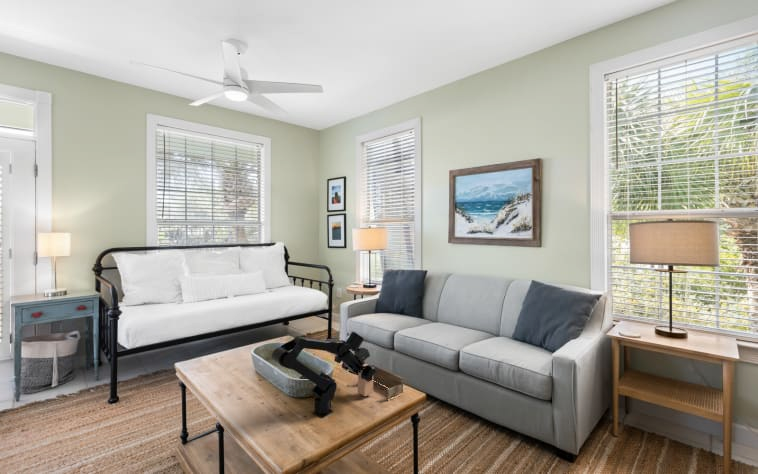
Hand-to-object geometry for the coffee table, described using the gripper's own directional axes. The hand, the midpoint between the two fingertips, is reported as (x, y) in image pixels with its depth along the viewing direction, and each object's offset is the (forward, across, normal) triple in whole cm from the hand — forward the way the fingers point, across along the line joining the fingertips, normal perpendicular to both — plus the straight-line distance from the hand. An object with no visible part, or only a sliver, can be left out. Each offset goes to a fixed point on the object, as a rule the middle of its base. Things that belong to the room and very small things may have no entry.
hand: (368, 377), depth 163 cm
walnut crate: (+11, 0, 0) cm, 11 cm away
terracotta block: (+4, 0, +6) cm, 7 cm away
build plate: (-6, +28, +18) cm, 35 cm away
